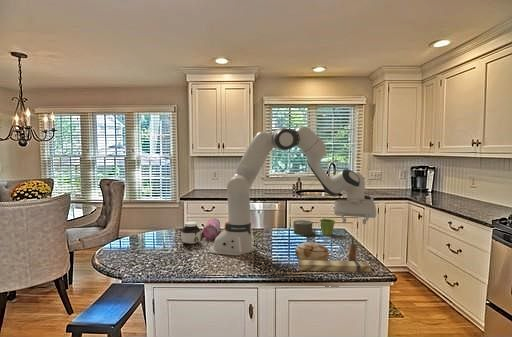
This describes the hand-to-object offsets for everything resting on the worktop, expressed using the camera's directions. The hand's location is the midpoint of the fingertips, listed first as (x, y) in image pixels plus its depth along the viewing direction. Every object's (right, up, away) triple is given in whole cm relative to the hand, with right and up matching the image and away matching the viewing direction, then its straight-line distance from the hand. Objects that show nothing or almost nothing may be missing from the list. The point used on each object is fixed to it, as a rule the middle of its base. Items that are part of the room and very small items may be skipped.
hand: (354, 222), depth 157 cm
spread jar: (-85, -15, +23) cm, 89 cm away
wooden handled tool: (-4, -16, -10) cm, 20 cm away
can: (-19, -14, +45) cm, 51 cm away
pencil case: (-75, -15, +39) cm, 86 cm away
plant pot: (-4, -14, +41) cm, 43 cm away
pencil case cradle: (-74, -14, +40) cm, 86 cm away
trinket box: (-22, -17, -7) cm, 28 cm away
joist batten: (-15, -17, -19) cm, 29 cm away
